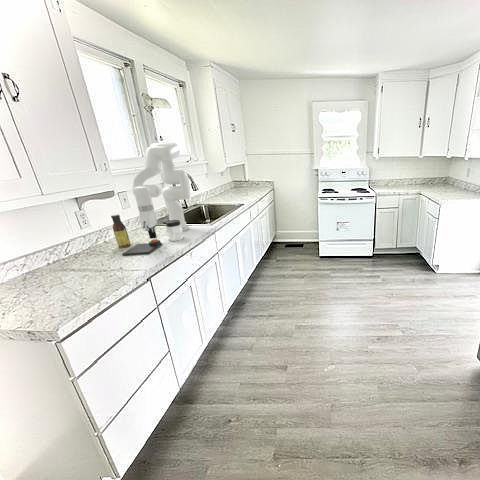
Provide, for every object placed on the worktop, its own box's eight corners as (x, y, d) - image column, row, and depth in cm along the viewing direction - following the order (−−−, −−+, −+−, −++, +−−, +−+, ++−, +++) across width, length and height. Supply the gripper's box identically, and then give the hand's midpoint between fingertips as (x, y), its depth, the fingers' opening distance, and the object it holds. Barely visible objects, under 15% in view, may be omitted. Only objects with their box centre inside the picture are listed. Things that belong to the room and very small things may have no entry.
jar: (170, 241, 167) (166, 223, 163) (167, 239, 172) (163, 221, 168) (185, 238, 172) (182, 221, 168) (181, 235, 178) (178, 218, 174)
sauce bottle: (133, 245, 162) (124, 214, 155) (121, 248, 157) (112, 216, 150) (127, 244, 165) (118, 213, 158) (116, 247, 160) (106, 215, 153)
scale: (138, 245, 161) (136, 241, 160) (162, 244, 163) (161, 239, 162) (122, 256, 146) (121, 251, 145) (150, 254, 147) (148, 249, 146)
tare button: (153, 241, 160) (152, 239, 160) (158, 241, 160) (157, 238, 160) (150, 243, 157) (150, 240, 157) (156, 242, 158) (155, 240, 157)
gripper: (145, 206, 158) (152, 234, 164) (132, 211, 144) (140, 242, 150) (158, 205, 159) (165, 234, 165) (146, 210, 145) (154, 241, 151)
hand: (153, 237), depth 158 cm, fingers closed
